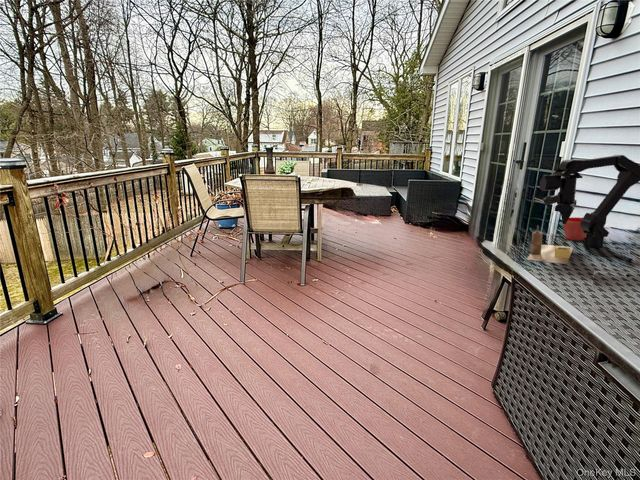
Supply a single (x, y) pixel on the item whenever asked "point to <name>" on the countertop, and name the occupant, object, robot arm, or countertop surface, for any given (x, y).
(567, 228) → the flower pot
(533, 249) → the awl
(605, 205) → the robot arm
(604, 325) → the countertop surface
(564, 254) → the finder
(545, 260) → the panel
